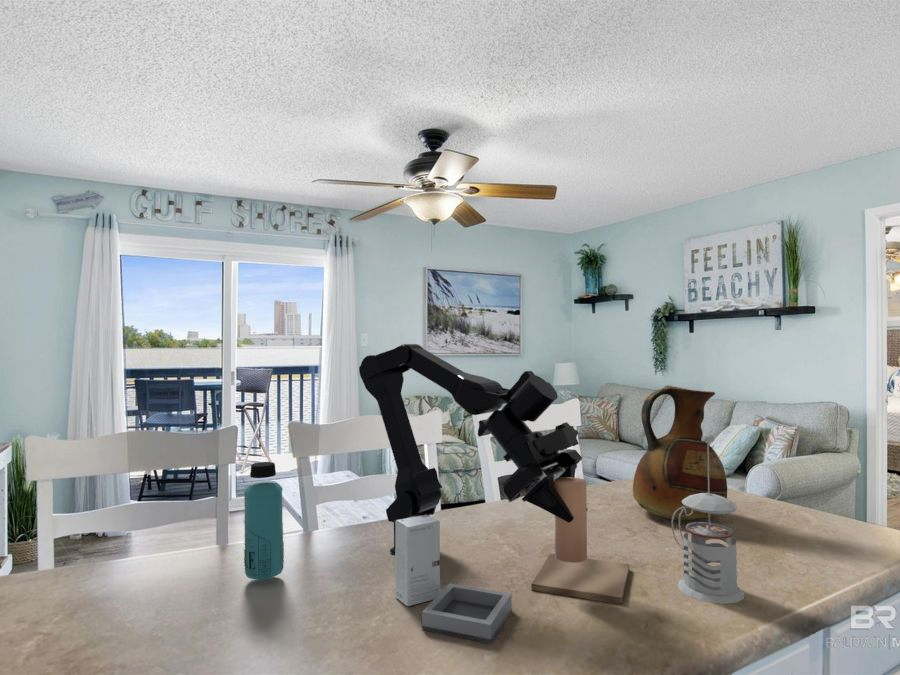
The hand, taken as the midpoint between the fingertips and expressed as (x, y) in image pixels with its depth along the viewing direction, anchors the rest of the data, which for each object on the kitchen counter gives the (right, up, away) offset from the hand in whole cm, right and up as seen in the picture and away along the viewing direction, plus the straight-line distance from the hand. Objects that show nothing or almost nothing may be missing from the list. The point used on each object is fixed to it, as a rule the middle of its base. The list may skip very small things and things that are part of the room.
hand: (578, 516), depth 88 cm
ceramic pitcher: (+33, -13, +41) cm, 54 cm away
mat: (+2, -13, +6) cm, 14 cm away
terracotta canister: (-1, -7, +1) cm, 7 cm away
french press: (+21, -13, +2) cm, 25 cm away
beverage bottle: (-52, -13, +6) cm, 54 cm away
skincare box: (-25, -13, 0) cm, 28 cm away
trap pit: (-18, -13, -8) cm, 23 cm away
